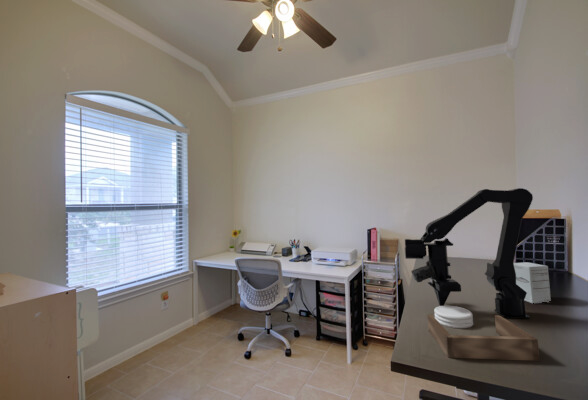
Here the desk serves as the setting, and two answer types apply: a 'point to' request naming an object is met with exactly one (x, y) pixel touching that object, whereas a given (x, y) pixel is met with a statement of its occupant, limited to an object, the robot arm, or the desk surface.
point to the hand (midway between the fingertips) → (441, 305)
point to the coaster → (453, 316)
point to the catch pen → (487, 342)
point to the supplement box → (533, 281)
